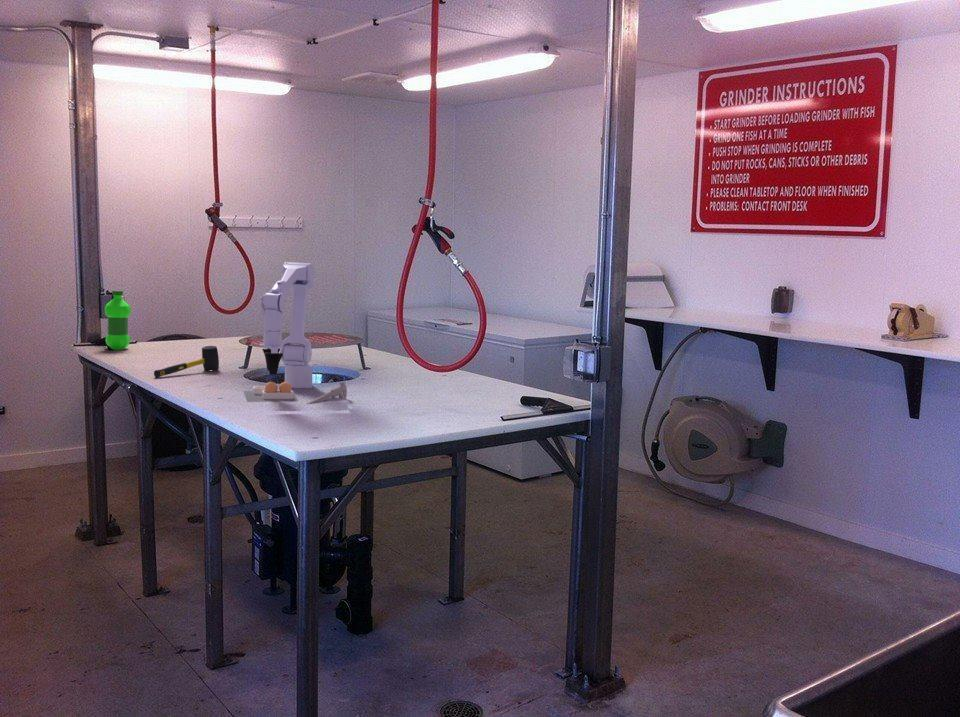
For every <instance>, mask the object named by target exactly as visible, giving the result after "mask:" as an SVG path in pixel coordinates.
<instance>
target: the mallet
mask: <svg viewBox="0 0 960 717" xmlns="http://www.w3.org/2000/svg"><path fill="white" fill-rule="evenodd" d="M219 358H220V357H219V351H218V347H217V346H215V345H205V346H203V347H202V348H201V358H200V359H199V358H198V359H197V360H196V359H195V360H193V361H192V360H191V361H188V362H183V363H179V364H174V365H170V366H167V367H165V368H162V369H155V370H154V371H153V375H154V377H155V378H156V379H158V378H161V377H163V376H167V375H171V374H174V373H175V374H176V373H179V372H181V371H184V370H187V369H190V368H193V367H196V366H199V365H202V366H203V371H205V370H216V371H218V370H219V369H220V360H219Z"/></svg>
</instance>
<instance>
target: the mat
mask: <svg viewBox="0 0 960 717" xmlns="http://www.w3.org/2000/svg"><path fill="white" fill-rule="evenodd" d="M243 393H244V396H245V399H246V402H248V403H249V402H250V403H251V402H252V403H253V402H254V403H255V402H259V403H260V402H299V399H298V398H297V396H296V394H294V398H293V399H263V398H262V394H253V390H243Z"/></svg>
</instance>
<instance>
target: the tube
mask: <svg viewBox="0 0 960 717" xmlns="http://www.w3.org/2000/svg"><path fill="white" fill-rule="evenodd" d="M265 386H266V385H254V386H252V391H253V394H262V390H265Z"/></svg>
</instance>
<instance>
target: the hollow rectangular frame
mask: <svg viewBox="0 0 960 717" xmlns="http://www.w3.org/2000/svg"><path fill="white" fill-rule="evenodd" d="M294 395H295V393H294V391H293V389H292V390H291V392H285V393H281V392H280V390H279V389H277V392H276V393H267V392H266V391H265V390H262V398H263V399H293V398H294Z"/></svg>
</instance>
